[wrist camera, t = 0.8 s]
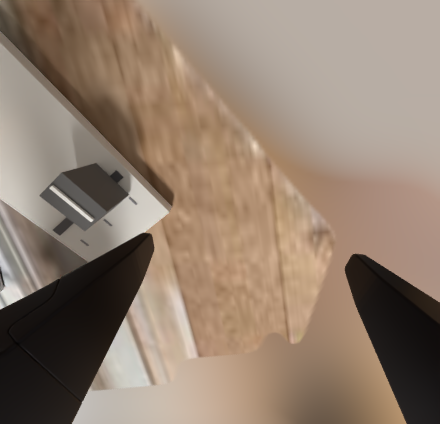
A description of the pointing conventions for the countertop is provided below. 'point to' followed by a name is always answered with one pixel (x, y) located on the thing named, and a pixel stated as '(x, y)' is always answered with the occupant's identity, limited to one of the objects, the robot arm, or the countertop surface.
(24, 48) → the countertop surface
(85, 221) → the block
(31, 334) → the robot arm
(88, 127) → the panel
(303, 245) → the countertop surface
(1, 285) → the coffee box
